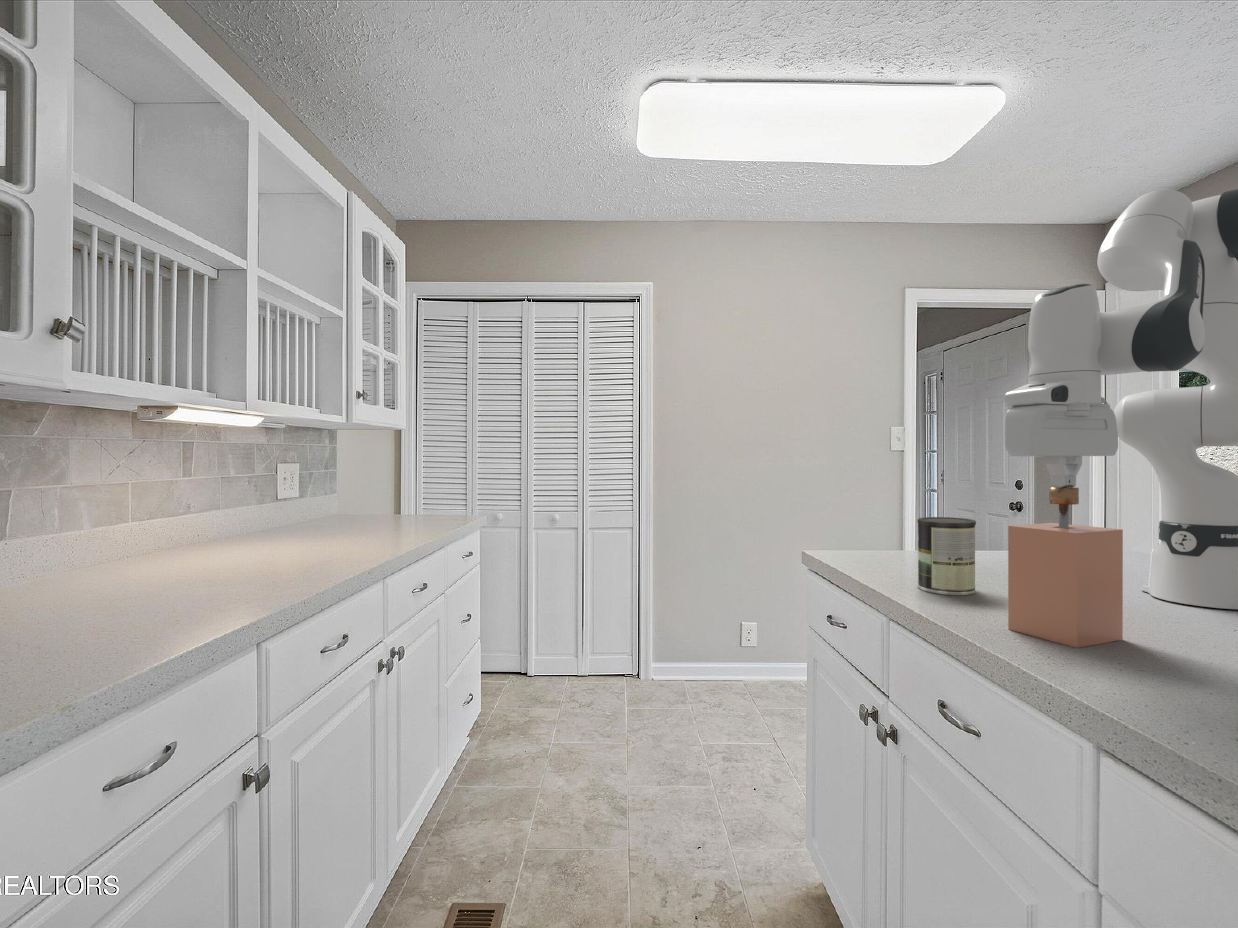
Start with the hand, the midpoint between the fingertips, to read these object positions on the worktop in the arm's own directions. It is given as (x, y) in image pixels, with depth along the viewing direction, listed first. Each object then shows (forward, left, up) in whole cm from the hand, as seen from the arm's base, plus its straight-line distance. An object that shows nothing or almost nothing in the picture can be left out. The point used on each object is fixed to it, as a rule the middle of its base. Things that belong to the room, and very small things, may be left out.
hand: (1063, 487), depth 91 cm
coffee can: (-10, -29, -22) cm, 38 cm away
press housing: (0, 0, -22) cm, 22 cm away
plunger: (0, 0, -13) cm, 13 cm away
